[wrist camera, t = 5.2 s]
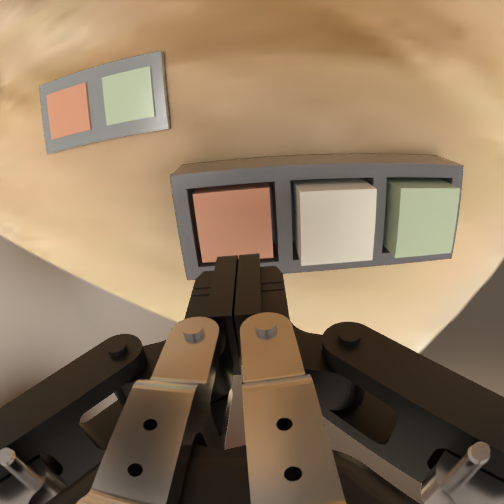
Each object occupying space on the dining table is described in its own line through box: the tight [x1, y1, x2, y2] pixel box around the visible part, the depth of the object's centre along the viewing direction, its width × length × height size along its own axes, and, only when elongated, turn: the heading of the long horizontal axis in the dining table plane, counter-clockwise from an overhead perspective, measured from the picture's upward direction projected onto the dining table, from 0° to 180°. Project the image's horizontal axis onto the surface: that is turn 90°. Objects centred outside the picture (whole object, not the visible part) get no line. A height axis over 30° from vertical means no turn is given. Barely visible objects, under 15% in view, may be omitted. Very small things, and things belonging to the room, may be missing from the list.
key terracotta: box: [193, 182, 273, 263], centre depth 19 cm, size 4×4×2 cm
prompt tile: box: [39, 51, 170, 154], centre depth 17 cm, size 5×9×1 cm, turn 94°
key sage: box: [383, 178, 460, 258], centre depth 17 cm, size 4×4×2 cm
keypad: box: [170, 154, 463, 280], centre depth 19 cm, size 6×17×4 cm, turn 94°
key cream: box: [293, 179, 377, 266], centre depth 17 cm, size 4×4×2 cm
